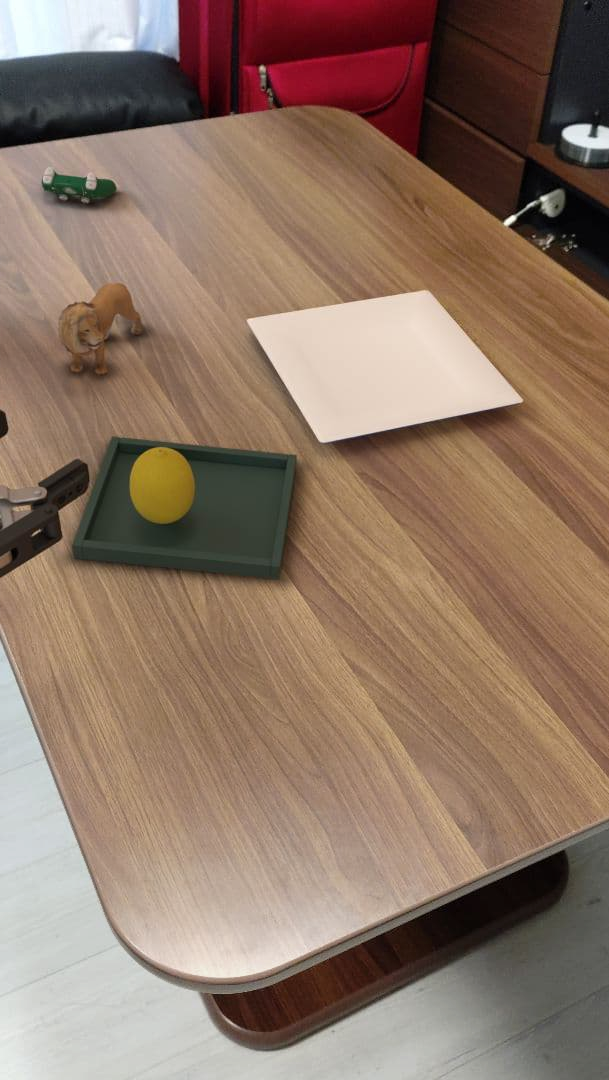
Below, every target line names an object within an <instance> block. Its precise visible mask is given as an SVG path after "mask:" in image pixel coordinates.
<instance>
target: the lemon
mask: <svg viewBox="0 0 609 1080" xmlns="http://www.w3.org/2000/svg"><path fill="white" fill-rule="evenodd" d="M194 493H195V481H194V477H193V473H192V470H191V467H190V465H189V463H188V462H187V460H186V459H185V457H184V456H183V455H181V454H180V453H179V452H177V451H175V450H173V449H170V448H166V447H156V448H152V449H150V450H148V451H146V452H144V453H143V454H142V455H140V456H139V458H138V459H137V460H136V461H135V463H134V466H133V468H132V471H131V475H130V495H131V499H132V501H133V504H134V506H135V508H136V510H137V511H138V512H139V513H140V514H141V515H142V516H143V517H144V518H146V519H147V520H149V521H151V522H154V523H159V524H167V523H172V522H174V521H177V520H179V519H180V518H182V517H183V516H184V515H185V514H186V513H187V512H188V510H189V509H190V507H191V505H192V503H193V499H194Z"/></svg>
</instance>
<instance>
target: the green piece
mask: <svg viewBox="0 0 609 1080" xmlns="http://www.w3.org/2000/svg"><path fill="white" fill-rule="evenodd" d="M41 187H42V188H43V191H44V192H49V193H50V194H54V193H55V194H57V195H58V196H59V199H60V200H62V201H67V200H68V199H69V198H71V196H75V197H79V198H80V201H81V202H82V203H85V204H89V203H90V201H92V200H93V199H103V198H108V197H110V196H112V195H113V194H114V193H116V191H117V185H116V183H115V182H114V181H113V180H112V179H108V178H98V177H97V176H96V175H95V173H94V172H92V171H90V172H88V173H87V176H85V177H83V176H82V177H81V176H74V175H66V174H58V172H56V170H54V168H53V167H51V166H48V167H47V168H46V169H45V171H44V173H43V175H42V178H41Z"/></svg>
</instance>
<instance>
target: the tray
mask: <svg viewBox="0 0 609 1080" xmlns="http://www.w3.org/2000/svg"><path fill="white" fill-rule="evenodd" d="M156 447H166V448H170V449H173V450H175V451H177V452H179V453H180V454H181V455H183V456H184V457H185V459H186V460H187V462H188V463H189V465H190V467H191V470H192V473H193V477H194V481H195V493H194V499H193V503H192V505H191V507H190V509H189V510H188V512H187V513H186V514H185V515H184V516H183V517H182V518H180V519H179V520H177V521H174V522H172V523H167V524H159V523H154V522H151V521H149V520H147V519H146V518H144V517H143V516H142V515H141V514H140V513H139V512H138V511H137V510H136V508H135V506H134V504H133V501H132V499H131V495H130V475H131V471H132V468H133V466H134V463H135V461H136V460H137V459H138V458H139V456H140V455H142V454H143V453H144V452H146V451H148V450H150V449H152V448H156ZM297 456H298V455H297V454H290V453H280V452H270V451H262V450H261V451H260V450H250V449H242V448H241V449H240V448H230V447H220V446H211V445H201V444H200V445H199V444H191V443H190V444H189V443H180V442H171V441H161V440H150V439H138V438H132V437H131V438H130V437H120V436H111V438H110V440H109V443H108V445H107V449H106V451H105V453H104V457H103V459H102V462H101V465H100V468H99V470H98V473H97V475H96V478H95V481H94V484H93V487H92V490H91V492H90V495H89V497H88V501H87V503H86V505H85V508H84V512H83V514H82V517H81V520H80V522H79V525H78V528H77V531H76V533H75V536H74V538H73V541H72V544H71V547H72V553H73V559H80V560H88V561H97V562H98V561H99V562H108V563H117V564H118V563H119V564H127V565H137V566H147V567H157V568H165V569H177V570H185V571H186V570H187V571H195V572H205V573H212V574H213V573H215V574H223V575H224V574H225V575H232V576H233V575H234V576H243V577H254V578H261V579H262V578H263V579H274V580H280V579H281V572H282V565H283V558H284V552H285V545H286V538H287V530H288V524H289V517H290V511H291V503H292V499H293V492H294V491H293V490H294V483H295V478H296V470H297V459H298V458H297Z"/></svg>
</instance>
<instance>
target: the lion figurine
mask: <svg viewBox="0 0 609 1080" xmlns="http://www.w3.org/2000/svg"><path fill="white" fill-rule="evenodd" d="M117 315H120V316H122V318H124V319H126V320H127V321H130V322H133V325H132V327H131V328H130V332H131V333H132V334H133V335H141V334H142V333H143V328H142V327H143V326H142V321H141V315H140V313H139V312H138V311H137V310H136V309H135V307H134V303H133V300H132V296H131V293H130V291H129V289H128V288H127V286H126V285H125V284H123V283H120V282H113V283H109V284H105V285H102V286H101V287H100V288H99V289H98V291H97V293H96V294H95V295H94V297H92V299H91V300H90V301H88V302H85V301H84V300H82V301H79V302H77V301H74V303H71V304H68V305H67V307H65V308H64V309H62V311H61V314H60V315H59V318H58V336H59V339H60V344H61V345H62V346H63V347H64V348H65V350H66V351H67V352H69V353H70V354H71V356H72V359H73V361H74V362H73V363H71V364H70V370H71V371H72V372H74V373H80V372H81V371H82V370H83V367H84V362H83V360H84V359H83V357H87V356H90V355H92V354H93V353H94V366H95V370H94V371H95V373H96V374H97V375H105V374H107V373H108V368H107V363H106V361H105V349H106V348H105V347H106V346H105V341H106V340H107V339H108V338H109V335H110V331H111V328H112V326H113V323H114V321H115V318H116V316H117Z"/></svg>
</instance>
